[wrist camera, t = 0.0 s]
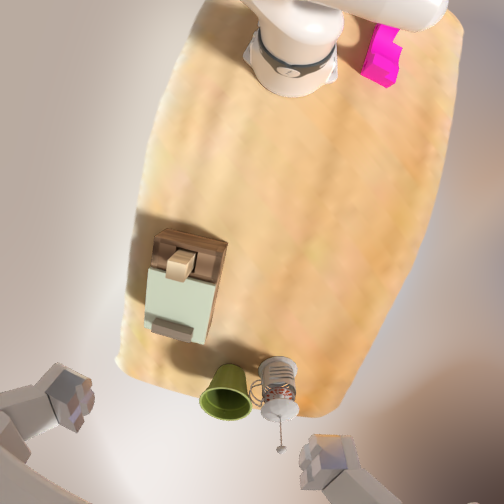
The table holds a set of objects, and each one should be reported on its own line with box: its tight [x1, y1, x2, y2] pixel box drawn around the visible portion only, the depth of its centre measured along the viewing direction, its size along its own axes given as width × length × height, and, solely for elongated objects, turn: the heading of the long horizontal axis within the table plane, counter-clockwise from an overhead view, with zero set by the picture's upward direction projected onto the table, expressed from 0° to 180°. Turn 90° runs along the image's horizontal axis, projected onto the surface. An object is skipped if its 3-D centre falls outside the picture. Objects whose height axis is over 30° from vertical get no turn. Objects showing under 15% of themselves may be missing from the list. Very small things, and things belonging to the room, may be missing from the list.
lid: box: [144, 267, 216, 345], centre depth 51 cm, size 13×13×4 cm
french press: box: [249, 357, 299, 454], centre depth 53 cm, size 10×12×25 cm
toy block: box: [360, 23, 402, 88], centre depth 39 cm, size 15×6×8 cm, turn 160°
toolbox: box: [151, 228, 228, 341], centre depth 55 cm, size 20×13×7 cm, turn 167°
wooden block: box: [165, 248, 198, 283], centre depth 50 cm, size 3×3×12 cm
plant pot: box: [199, 364, 252, 421], centre depth 60 cm, size 12×12×11 cm
